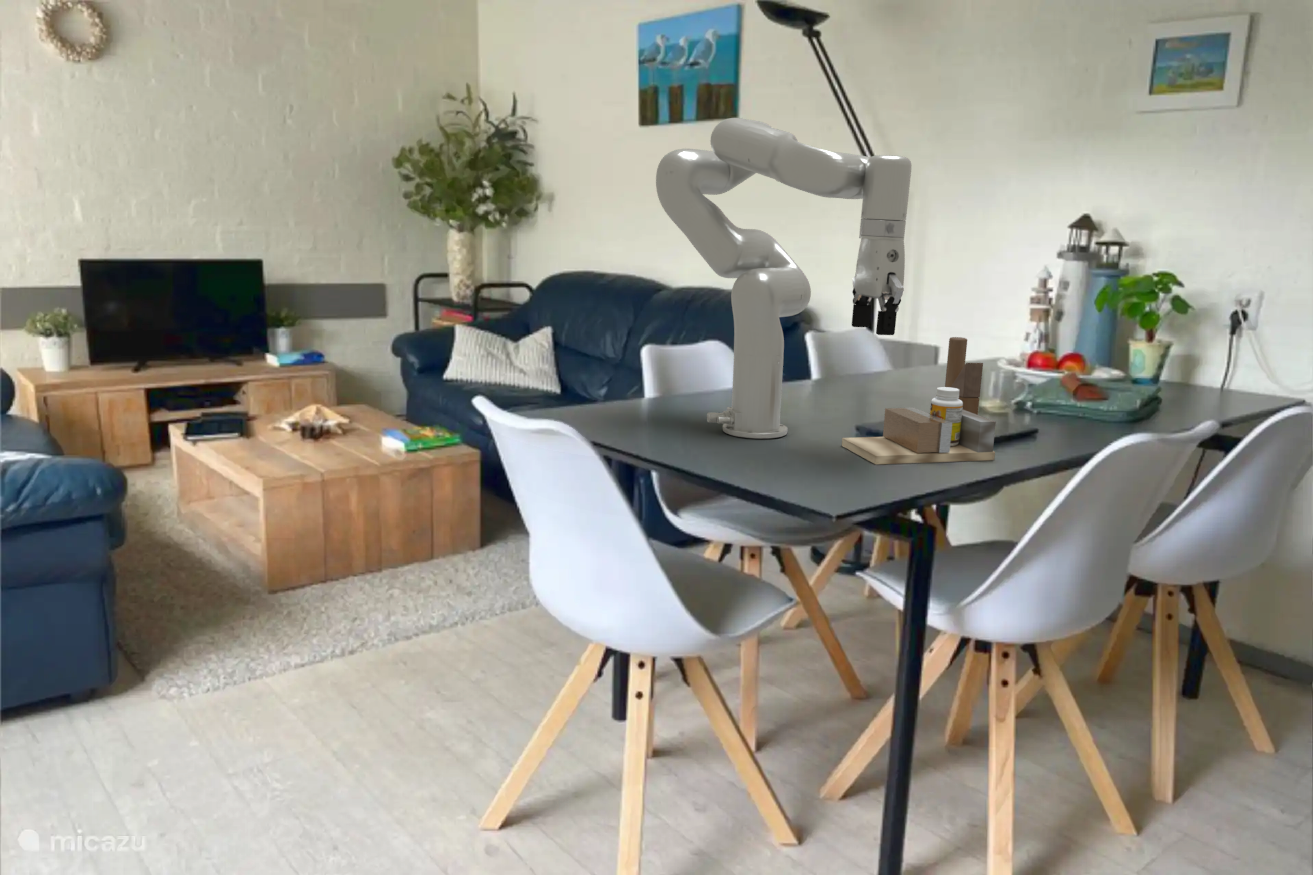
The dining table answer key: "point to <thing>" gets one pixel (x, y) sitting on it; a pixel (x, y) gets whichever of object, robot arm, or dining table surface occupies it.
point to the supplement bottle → (948, 410)
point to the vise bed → (971, 447)
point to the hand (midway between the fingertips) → (872, 330)
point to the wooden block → (963, 374)
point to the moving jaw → (917, 430)
